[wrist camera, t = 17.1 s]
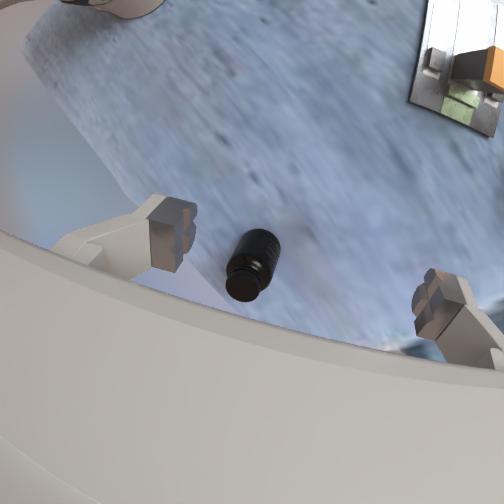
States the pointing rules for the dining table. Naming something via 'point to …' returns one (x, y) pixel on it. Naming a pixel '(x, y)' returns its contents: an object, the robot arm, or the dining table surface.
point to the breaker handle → (481, 70)
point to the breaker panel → (444, 58)
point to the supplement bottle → (252, 265)
